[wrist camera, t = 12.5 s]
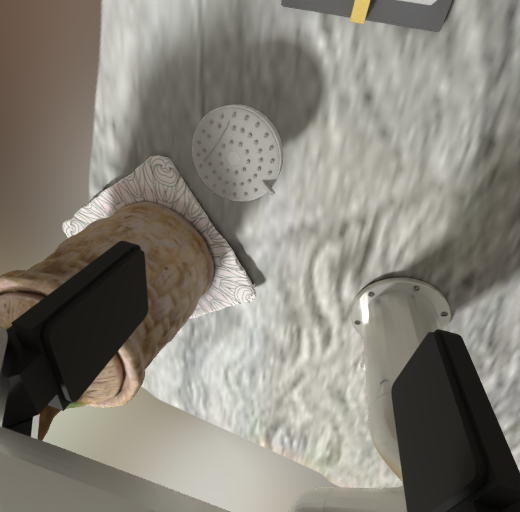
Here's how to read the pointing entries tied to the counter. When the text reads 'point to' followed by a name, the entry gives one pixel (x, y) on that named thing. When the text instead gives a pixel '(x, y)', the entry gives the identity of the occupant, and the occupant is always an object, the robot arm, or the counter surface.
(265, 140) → the showerhead
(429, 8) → the socket
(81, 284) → the robot arm
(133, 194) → the cookie jar
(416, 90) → the counter surface
